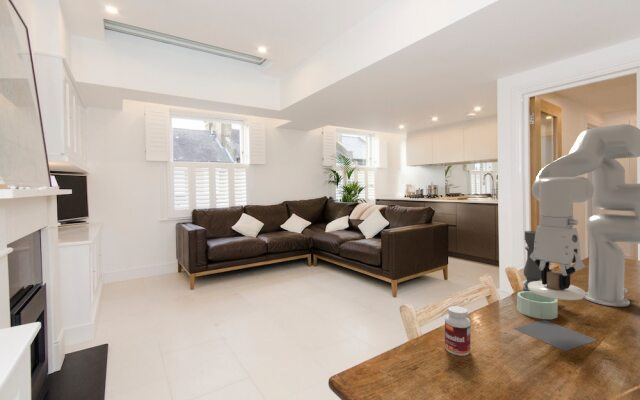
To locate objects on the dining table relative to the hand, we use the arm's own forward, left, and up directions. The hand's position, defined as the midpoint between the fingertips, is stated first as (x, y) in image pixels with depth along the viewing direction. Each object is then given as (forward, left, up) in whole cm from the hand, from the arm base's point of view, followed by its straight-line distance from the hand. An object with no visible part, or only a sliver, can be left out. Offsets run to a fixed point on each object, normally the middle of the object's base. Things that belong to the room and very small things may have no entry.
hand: (555, 285), depth 89 cm
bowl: (-11, -12, -14) cm, 21 cm away
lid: (0, 0, -2) cm, 2 cm away
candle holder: (-24, -22, -14) cm, 35 cm away
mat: (0, 0, -14) cm, 14 cm away
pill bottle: (+31, -5, -15) cm, 35 cm away
